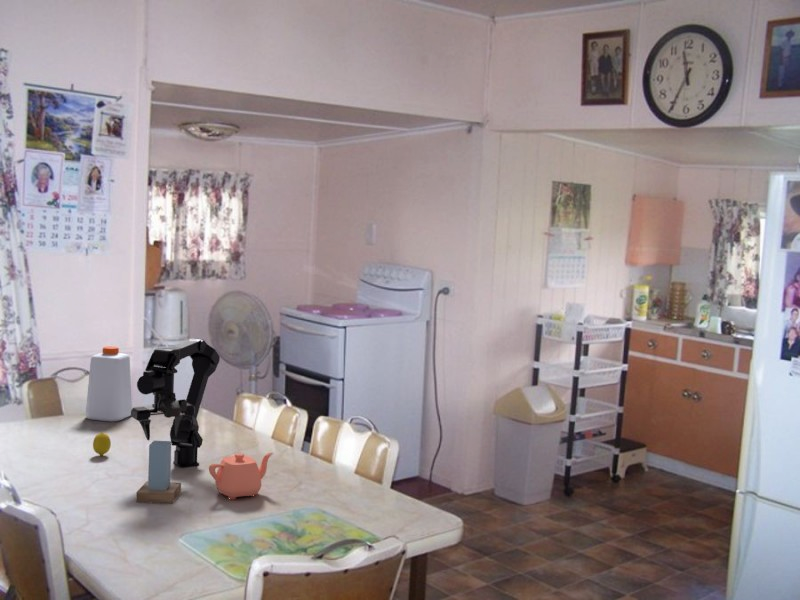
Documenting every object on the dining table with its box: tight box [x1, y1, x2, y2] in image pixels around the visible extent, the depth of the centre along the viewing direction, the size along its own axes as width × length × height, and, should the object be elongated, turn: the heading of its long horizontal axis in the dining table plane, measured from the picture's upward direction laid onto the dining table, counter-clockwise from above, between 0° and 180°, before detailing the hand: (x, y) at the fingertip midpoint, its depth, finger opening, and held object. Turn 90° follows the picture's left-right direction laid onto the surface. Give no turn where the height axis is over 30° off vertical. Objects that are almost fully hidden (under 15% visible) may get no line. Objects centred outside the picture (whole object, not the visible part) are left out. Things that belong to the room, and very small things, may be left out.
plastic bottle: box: [85, 345, 133, 422], centre depth 327 cm, size 15×15×28 cm
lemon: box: [92, 432, 112, 457], centre depth 275 cm, size 6×6×8 cm
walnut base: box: [135, 480, 182, 505], centre depth 238 cm, size 10×10×3 cm
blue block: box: [147, 440, 172, 491], centre depth 237 cm, size 5×5×13 cm
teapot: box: [208, 452, 274, 500], centre depth 244 cm, size 13×20×12 cm
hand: (162, 438), depth 256 cm, fingers open, 9 cm apart
